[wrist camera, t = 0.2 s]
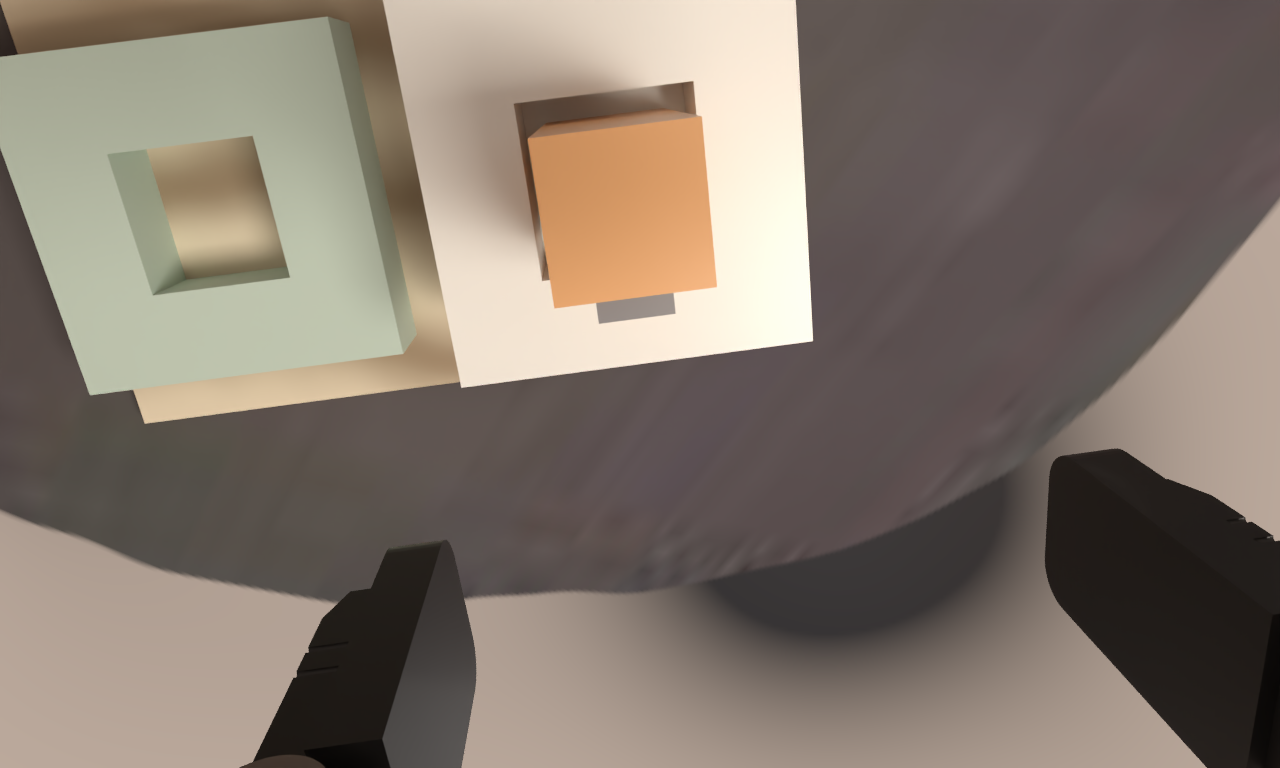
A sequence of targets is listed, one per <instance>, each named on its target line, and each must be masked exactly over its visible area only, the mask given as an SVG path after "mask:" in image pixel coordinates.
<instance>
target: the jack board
mask: <svg viewBox="0 0 1280 768" xmlns="http://www.w3.org/2000/svg"><path fill="white" fill-rule="evenodd" d="M0 3H1V6H2V9H3V12H4V15H5V18H6V21H7V24H8V27H9V29H10V32H11V35H12V38H13V41H14V44H15V47H16V50H17V53H18V55H20V54H28V53H36V52H44V51H52V50H60V49H69V48H77V47H85V46H93V45H101V44H109V43H117V42H125V41H133V40H141V39H149V38H158V37H166V36H174V35H182V34H190V33H198V32H206V31H214V30H222V29H231V28H239V27H247V26H255V25H263V24H271V23H279V22H287V21H295V20H303V19H312V18H320V17H331V18H334V19H338V20H341V21H345V22H348V23H349V24H350V29H351V33H352V38H353V42H354V47H355V52H356V56H357V61H358V65H359V70H360V75H361V79H362V84H363V88H364V93H365V98H366V102H367V107H368V112H369V116H370V121H371V125H372V130H373V135H374V139H375V144H376V148H377V153H378V158H379V162H380V167H381V171H382V176H383V181H384V185H385V190H386V195H387V199H388V204H389V208H390V213H391V218H392V222H393V227H394V231H395V236H396V241H397V245H398V250H399V254H400V259H401V264H402V268H403V273H404V277H405V282H406V287H407V291H408V296H409V301H410V305H411V310H412V314H413V319H414V324H415V328H416V333H417V335H416V336H415V338H414V339H413V341H412V342H411V343H410V345H409V346H408V348H407V349H406V351H405V352H404V354H399V355H391V356H384V357H376V358H369V359H361V360H353V361H346V362H338V363H331V364H323V365H316V366H308V367H300V368H293V369H285V370H278V371H270V372H262V373H255V374H247V375H240V376H232V377H224V378H217V379H209V380H202V381H194V382H187V383H179V384H171V385H164V386H156V387H149V388H141V389H133V390H134V393H135V396H136V399H137V402H138V405H139V408H140V411H141V414H142V416H143V419H144V422H145V424H146V423H153V422H161V421H168V420H176V419H183V418H191V417H199V416H206V415H214V414H221V413H229V412H236V411H244V410H251V409H259V408H266V407H274V406H281V405H289V404H297V403H304V402H312V401H319V400H327V399H334V398H342V397H349V396H357V395H364V394H372V393H379V392H387V391H395V390H402V389H410V388H417V387H425V386H432V385H440V384H447V383H455V382H460V378H459V373H458V368H457V363H456V358H455V354H454V349H453V344H452V339H451V334H450V329H449V324H448V319H447V314H446V309H445V304H444V299H443V294H442V289H441V284H440V280H439V275H438V270H437V265H436V260H435V255H434V250H433V245H432V240H431V235H430V230H429V225H428V220H427V215H426V210H425V206H424V201H423V196H422V191H421V186H420V181H419V176H418V171H417V166H416V161H415V156H414V151H413V146H412V141H411V137H410V132H409V127H408V122H407V117H406V112H405V107H404V102H403V97H402V92H401V87H400V82H399V77H398V72H397V67H396V63H395V58H394V53H393V48H392V43H391V38H390V33H389V28H388V23H387V18H386V13H385V8H384V3H383V0H0ZM146 150H147V153H148V157H149V160H150V163H151V166H152V170H153V173H154V176H155V179H156V183H157V186H158V189H159V192H160V196H161V199H162V202H163V205H164V209H165V212H166V215H167V219H168V222H169V225H170V228H171V232H172V235H173V238H174V241H175V245H176V248H177V251H178V254H179V258H180V261H181V264H182V267H183V271H184V274H185V277H186V280H187V279H194V278H202V277H210V276H218V275H225V274H233V273H241V272H248V271H256V270H264V269H272V268H279V267H287V264H286V260H285V256H284V252H283V249H282V245H281V241H280V237H279V233H278V230H277V226H276V222H275V218H274V214H273V211H272V207H271V203H270V199H269V195H268V192H267V188H266V184H265V180H264V177H263V173H262V169H261V165H260V161H259V158H258V154H257V150H256V146H255V142H254V139H253V136H247V137H239V138H231V139H223V140H215V141H207V142H200V143H192V144H184V145H176V146H168V147H160V148H152V149H146Z"/></svg>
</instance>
